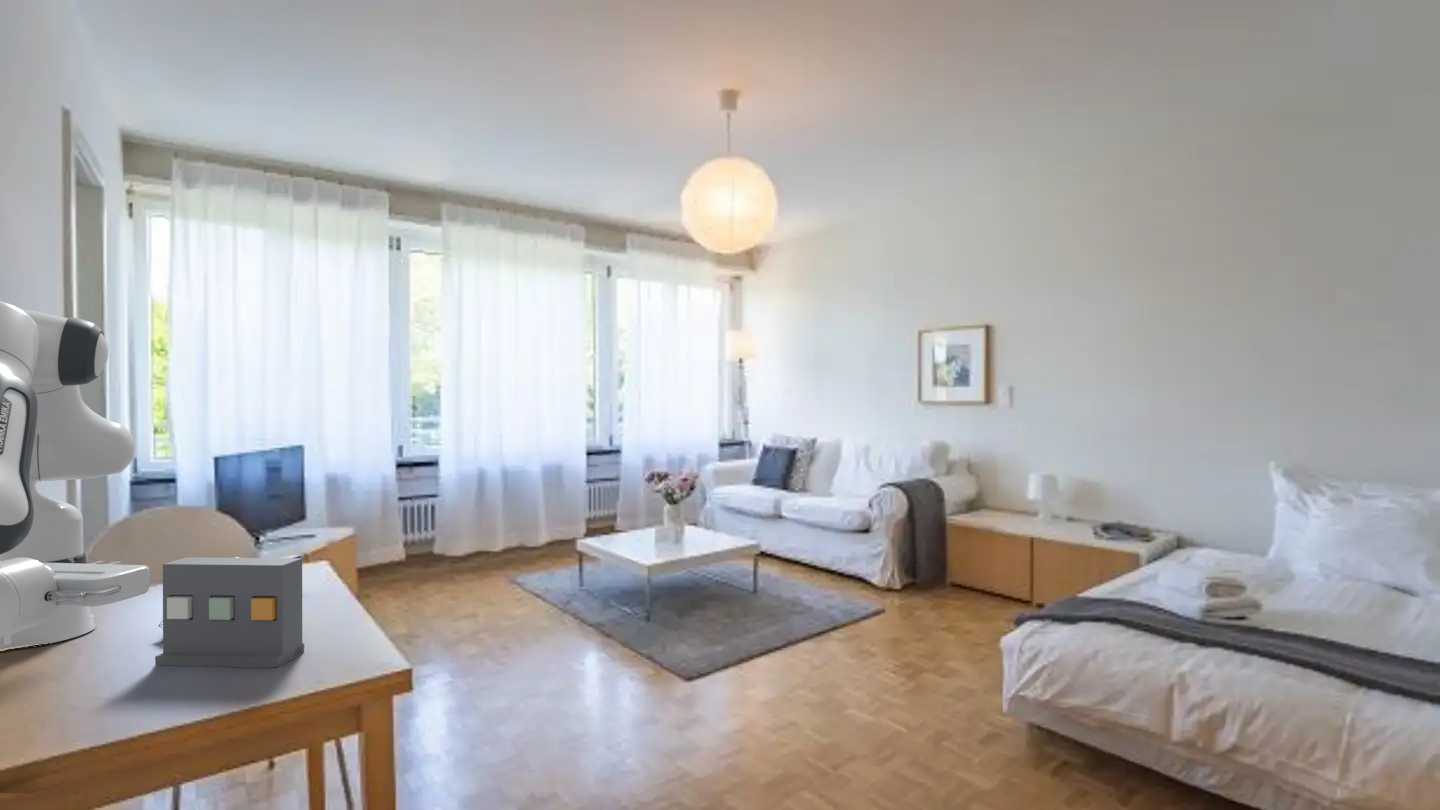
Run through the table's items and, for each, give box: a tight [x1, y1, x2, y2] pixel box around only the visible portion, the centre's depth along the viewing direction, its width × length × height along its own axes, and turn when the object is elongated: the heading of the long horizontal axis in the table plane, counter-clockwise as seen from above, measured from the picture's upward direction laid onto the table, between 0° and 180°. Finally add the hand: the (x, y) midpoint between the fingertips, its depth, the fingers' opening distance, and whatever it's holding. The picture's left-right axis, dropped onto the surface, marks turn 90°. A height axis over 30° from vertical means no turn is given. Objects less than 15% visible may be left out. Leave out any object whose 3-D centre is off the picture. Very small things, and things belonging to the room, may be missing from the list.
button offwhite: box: [167, 595, 193, 619], centre depth 114 cm, size 3×3×3 cm
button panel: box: [154, 556, 305, 668], centre depth 115 cm, size 20×7×16 cm, turn 88°
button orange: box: [251, 596, 277, 620], centre depth 114 cm, size 3×3×3 cm
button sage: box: [209, 595, 235, 620], centre depth 114 cm, size 3×3×3 cm
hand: (113, 566), depth 98 cm, fingers closed
